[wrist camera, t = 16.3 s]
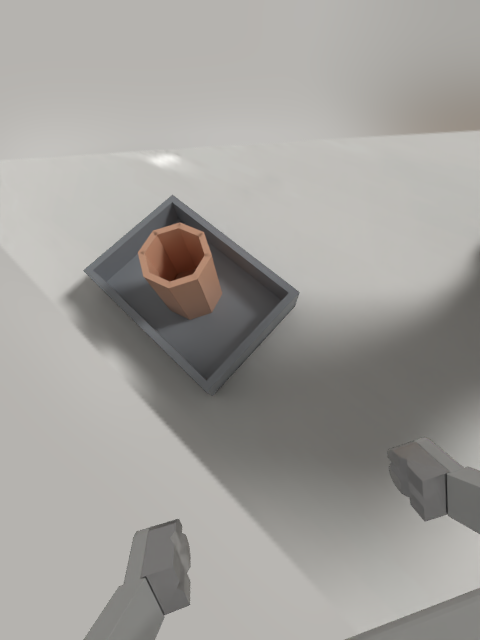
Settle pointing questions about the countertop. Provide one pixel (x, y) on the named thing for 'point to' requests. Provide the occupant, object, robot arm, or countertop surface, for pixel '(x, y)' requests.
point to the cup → (181, 270)
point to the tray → (208, 330)
